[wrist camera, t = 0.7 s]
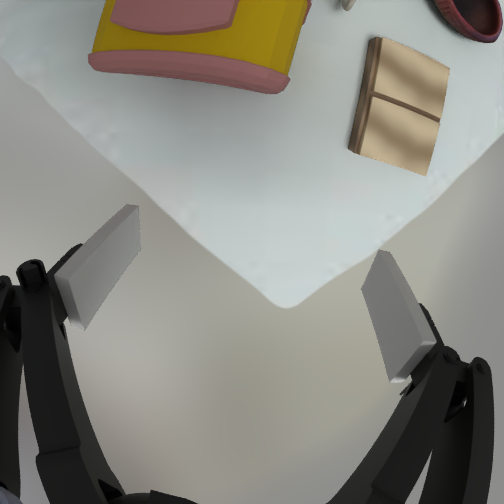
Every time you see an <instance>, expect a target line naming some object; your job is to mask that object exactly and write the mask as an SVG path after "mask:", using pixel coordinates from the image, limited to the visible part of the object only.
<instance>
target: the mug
mask: <svg viewBox="0 0 504 504" xmlns="http://www.w3.org/2000/svg"><path fill="white" fill-rule="evenodd" d="M355 1H356V0H342V6H343V9H344V10H345V11H349V10H350V9H351V8H352V6H353V5H354V3H355Z"/></svg>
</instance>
